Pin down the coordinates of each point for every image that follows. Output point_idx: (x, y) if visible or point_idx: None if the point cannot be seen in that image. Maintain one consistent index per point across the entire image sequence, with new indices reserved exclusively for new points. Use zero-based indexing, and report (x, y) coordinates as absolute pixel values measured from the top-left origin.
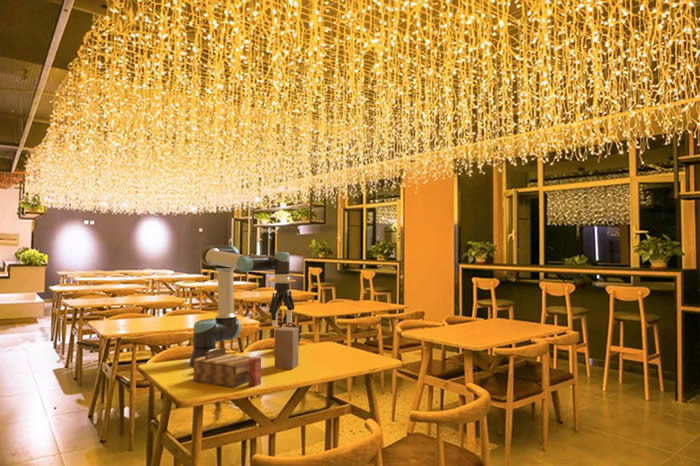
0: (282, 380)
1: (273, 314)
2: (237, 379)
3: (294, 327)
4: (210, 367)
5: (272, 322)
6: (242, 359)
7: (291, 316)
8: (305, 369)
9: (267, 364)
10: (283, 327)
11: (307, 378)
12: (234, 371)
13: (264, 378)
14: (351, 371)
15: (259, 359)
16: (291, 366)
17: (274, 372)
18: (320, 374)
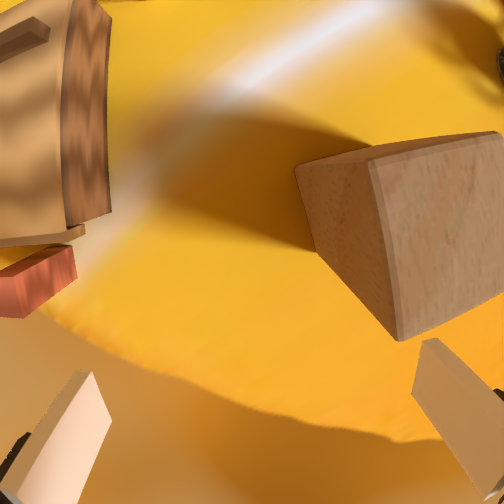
0: (153, 318)
1: (7, 499)
2: None
3: None
4: None
5: (58, 405)
6: (8, 204)
7: (452, 439)
8: (339, 302)
9: (339, 91)
10: (495, 167)
11: (226, 378)
12: None
13: (135, 238)
14: (364, 429)
15: (18, 315)
16: (318, 253)
17: (233, 212)
18: (294, 386)
